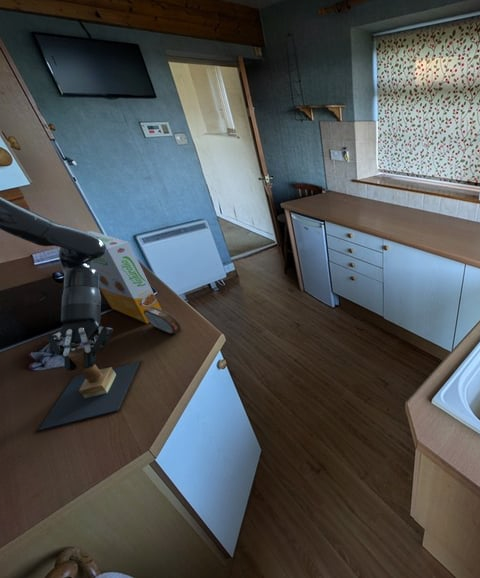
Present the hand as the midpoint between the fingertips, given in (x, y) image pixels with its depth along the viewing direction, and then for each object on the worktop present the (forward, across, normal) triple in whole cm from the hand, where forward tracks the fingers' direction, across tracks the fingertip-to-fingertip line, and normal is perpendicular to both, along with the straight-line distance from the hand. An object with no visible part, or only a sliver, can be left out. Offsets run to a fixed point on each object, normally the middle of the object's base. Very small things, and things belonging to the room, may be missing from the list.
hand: (80, 368), depth 77 cm
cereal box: (-22, -5, +36) cm, 43 cm away
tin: (-11, +9, +25) cm, 29 cm away
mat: (+7, -1, +7) cm, 10 cm away
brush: (+5, 0, +8) cm, 9 cm away
